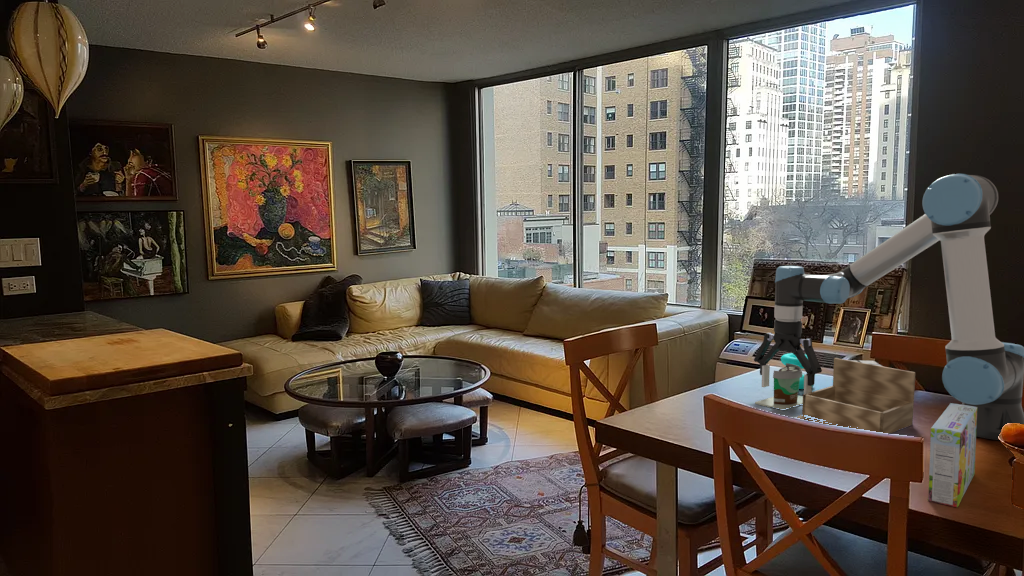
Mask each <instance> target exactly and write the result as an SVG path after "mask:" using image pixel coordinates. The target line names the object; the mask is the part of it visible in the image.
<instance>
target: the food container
mask: <svg viewBox="0 0 1024 576" xmlns="http://www.w3.org/2000/svg"><path fill="white" fill-rule="evenodd" d="M802 374H803V369H801V368H800V367H799V366H797V365H793V364H788V363H786V366H784V367H781V368H779V370H773V374H772V378H773V397H774V404H780V405H791V404H795V403H797V398H798V395H799V381H800V377H802V376H803V375H804V374H803V375H802Z"/></svg>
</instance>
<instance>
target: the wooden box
mask: <svg viewBox="0 0 1024 576" xmlns="http://www.w3.org/2000/svg"><path fill="white" fill-rule="evenodd" d="M849 360H850V359H844V358H838V357H834V358H833V372H832V373H833V377H832V385H831V386H827V387H823V388H820V389H817V390H814V391H813V390H812V392H810V393H806V394H804V393H803V394H802V396H803V405H801V406H802V407H801V408H802V409H801V414H800V416H799V415H797V416H798V417H797V418H800V419H804V420H808V421H813V420H809V419H811V418H807V419H805V418H806V417H804V415H808V416H811V417H815V418H818V419H823V420H826V421H823V424H829V423H832V424H829V425H836V424H838V425H837V426H843V427H848V426H849V428H856V429H864V430H870V431H876V432H883V433H891V434H893V433H896V432H898V431H900V430H899V429H901V430H903V429H906V428H909V427H911V426H913V421H914V417H913V416H914V405H915V387H916V386H915V385H916V371H910V370H904V369H899V368H892V367H887V366H883V365H881V366H877V365H872V364H866V363H860V362H855V361H849ZM802 414H803V416H801V415H802ZM814 420H817V419H814ZM819 421H820V420H817V421H815V422H819ZM825 422H828V423H825ZM819 423H822V422H819ZM850 426H851V427H850ZM857 427H858V428H857ZM905 427H906V428H905ZM902 428H903V429H902ZM897 430H898V431H897Z"/></svg>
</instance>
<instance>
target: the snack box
mask: <svg viewBox="0 0 1024 576" xmlns="http://www.w3.org/2000/svg"><path fill="white" fill-rule="evenodd" d="M976 425H977V407H974V406H968V405H962V404H959V403H953V402H952V403H951V402H950V403H949V405H948V406H947V407H946V409H945V410H944V411H943V412H942V414H941V415H940V416H939V417H938V419H936V421H935V422H934V424H933V425H932V426H931V427H930V441H929V442H930V444H929V470H928V471H929V473H928V492H927V493H928V495H927V502H931V503H935V504H940V505H945V506H949V507H953V508H959V506H960V503H961V502H962V499H963V498H964V496H965V493H966V492H967V490H968V488H969V486H970V483H971V482H972V480H973V478H974V476H975V475H976V447H977V446H976V445H977V444H976V443H977V436H976Z"/></svg>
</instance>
